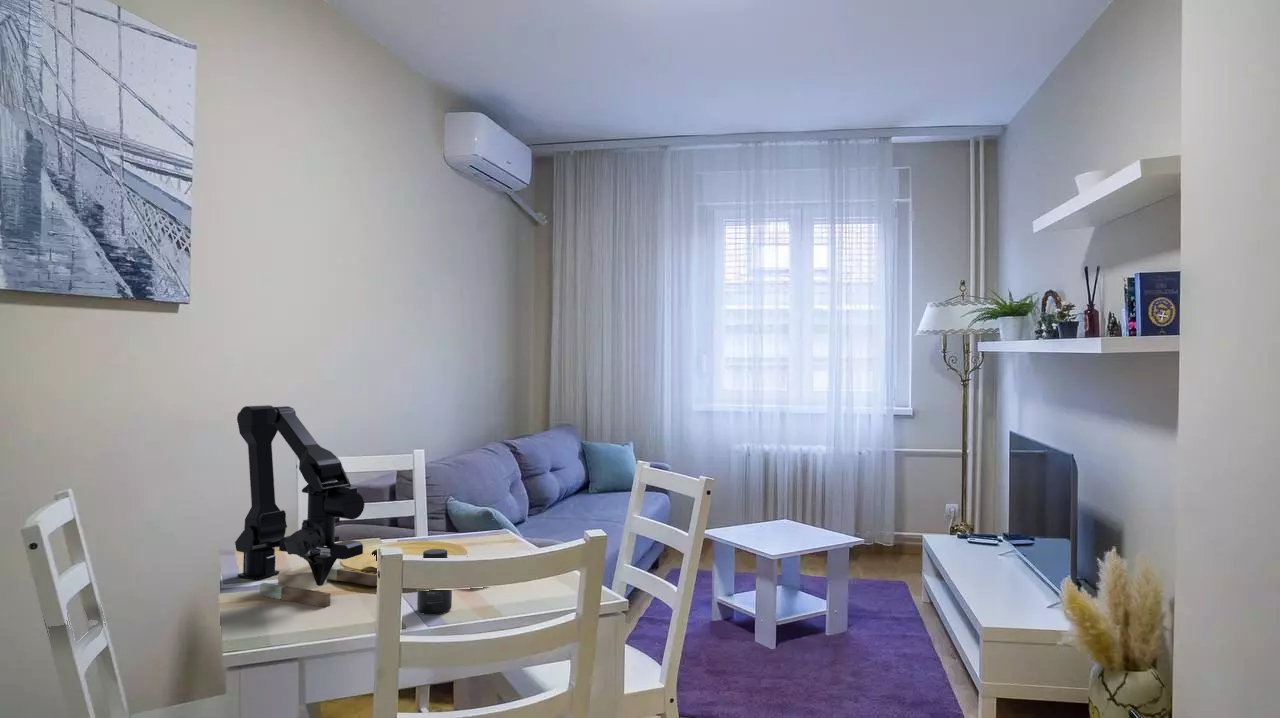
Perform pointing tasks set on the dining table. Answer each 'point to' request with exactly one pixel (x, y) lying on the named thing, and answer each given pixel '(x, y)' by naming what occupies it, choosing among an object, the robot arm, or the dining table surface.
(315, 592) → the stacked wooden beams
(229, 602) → the dining table surface
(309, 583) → the light wood block
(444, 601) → the supplement bottle
